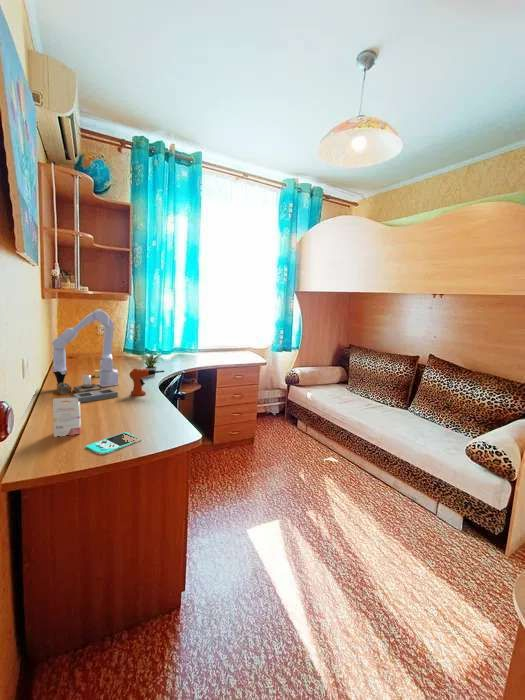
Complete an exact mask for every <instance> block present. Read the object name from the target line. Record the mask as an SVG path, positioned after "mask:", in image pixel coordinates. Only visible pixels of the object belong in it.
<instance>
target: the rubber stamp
mask: <svg viewBox="0 0 525 700" xmlns="http://www.w3.org/2000/svg"><path fill="white" fill-rule="evenodd" d="M94 378H100V369H94Z"/></svg>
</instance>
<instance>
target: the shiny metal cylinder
mask: <svg viewBox="0 0 525 700" xmlns="http://www.w3.org/2000/svg"><path fill="white" fill-rule="evenodd" d="M91 384H92V375H91V374H83V375H82V385H83V389H88V388H92V385H91Z"/></svg>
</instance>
